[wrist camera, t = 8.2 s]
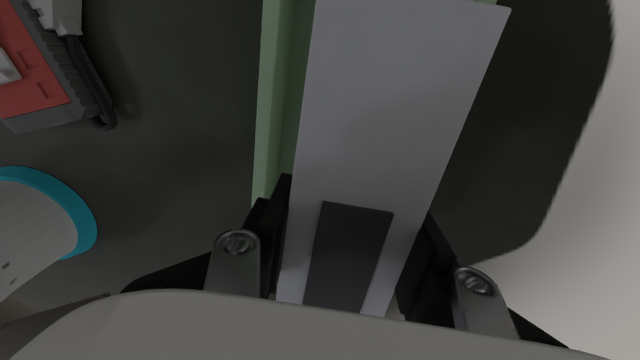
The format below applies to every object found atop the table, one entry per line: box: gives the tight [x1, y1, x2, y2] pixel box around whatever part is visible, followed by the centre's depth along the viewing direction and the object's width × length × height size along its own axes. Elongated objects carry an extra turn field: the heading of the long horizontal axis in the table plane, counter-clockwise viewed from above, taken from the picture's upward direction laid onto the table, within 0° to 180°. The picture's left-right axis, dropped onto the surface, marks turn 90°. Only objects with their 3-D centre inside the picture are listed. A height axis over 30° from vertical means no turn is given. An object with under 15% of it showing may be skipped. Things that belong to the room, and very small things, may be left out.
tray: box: [251, 0, 497, 287], centre depth 18 cm, size 21×10×6 cm, turn 170°
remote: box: [276, 0, 511, 317], centre depth 11 cm, size 16×5×3 cm, turn 171°
